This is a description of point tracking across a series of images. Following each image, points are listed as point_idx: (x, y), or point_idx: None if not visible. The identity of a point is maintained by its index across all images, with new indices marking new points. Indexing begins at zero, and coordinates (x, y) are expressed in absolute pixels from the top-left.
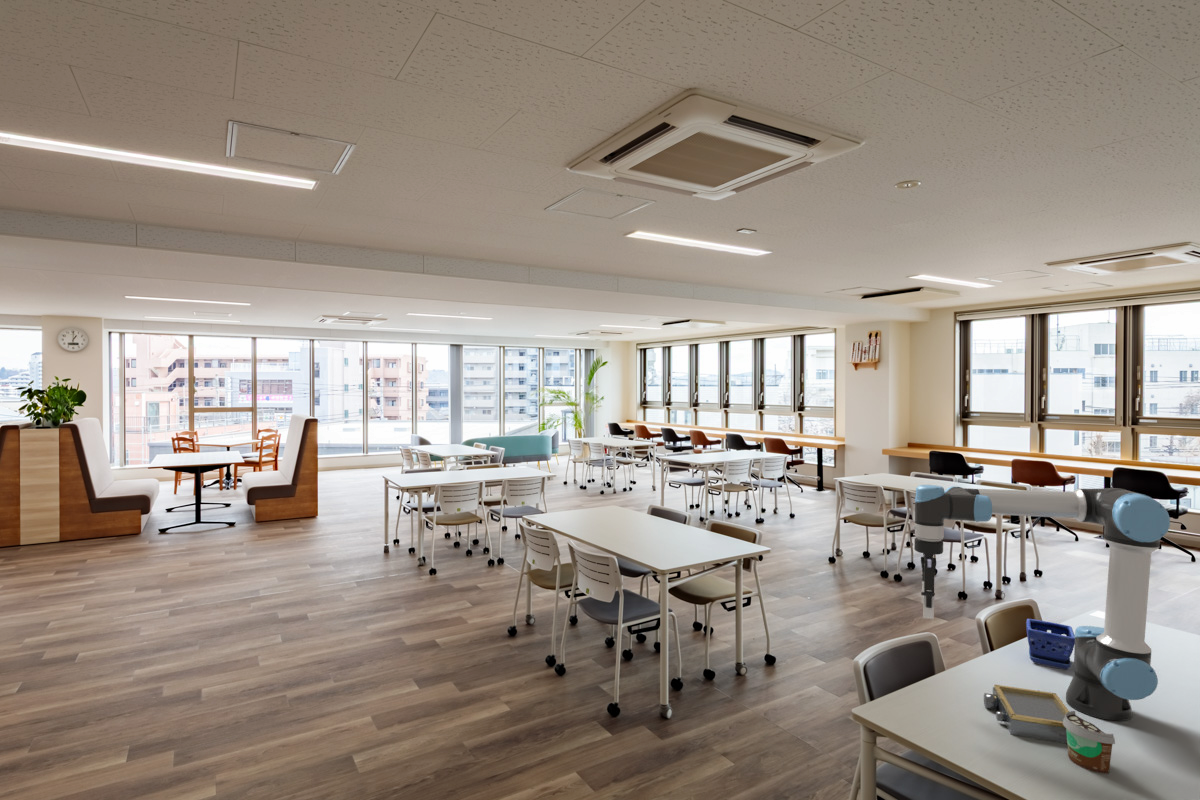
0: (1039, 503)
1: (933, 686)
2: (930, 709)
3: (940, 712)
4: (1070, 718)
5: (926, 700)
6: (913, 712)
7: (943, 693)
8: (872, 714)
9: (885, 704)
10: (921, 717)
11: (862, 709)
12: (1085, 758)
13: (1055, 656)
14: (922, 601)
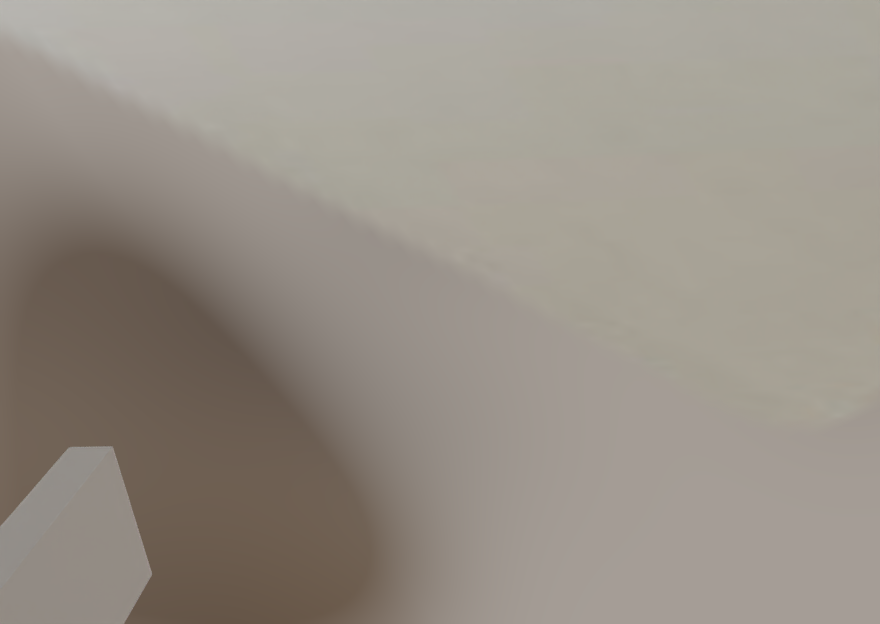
0: None
1: (240, 88)
2: (610, 94)
3: (626, 33)
4: None
5: (486, 121)
6: (702, 186)
7: (313, 23)
8: (826, 380)
9: (663, 329)
10: (754, 140)
11: (783, 426)
12: None
13: None
14: (133, 597)
